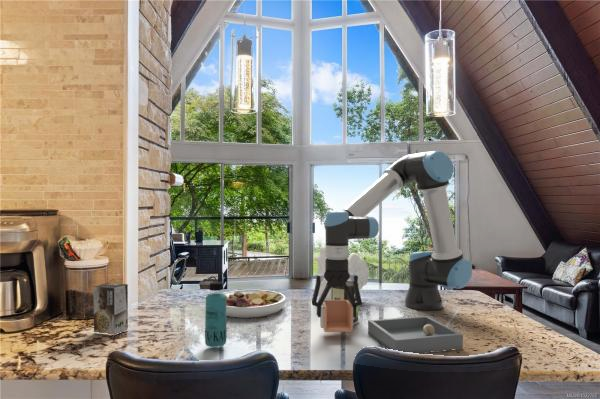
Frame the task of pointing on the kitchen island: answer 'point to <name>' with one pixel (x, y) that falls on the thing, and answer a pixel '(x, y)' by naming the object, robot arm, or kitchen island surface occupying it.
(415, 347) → the tray
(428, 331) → the ball
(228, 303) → the bowl
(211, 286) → the beverage bottle
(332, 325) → the open brown box
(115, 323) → the coffee box
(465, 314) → the kitchen island surface
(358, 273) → the decorative rooster
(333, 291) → the coffee can
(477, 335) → the kitchen island surface
